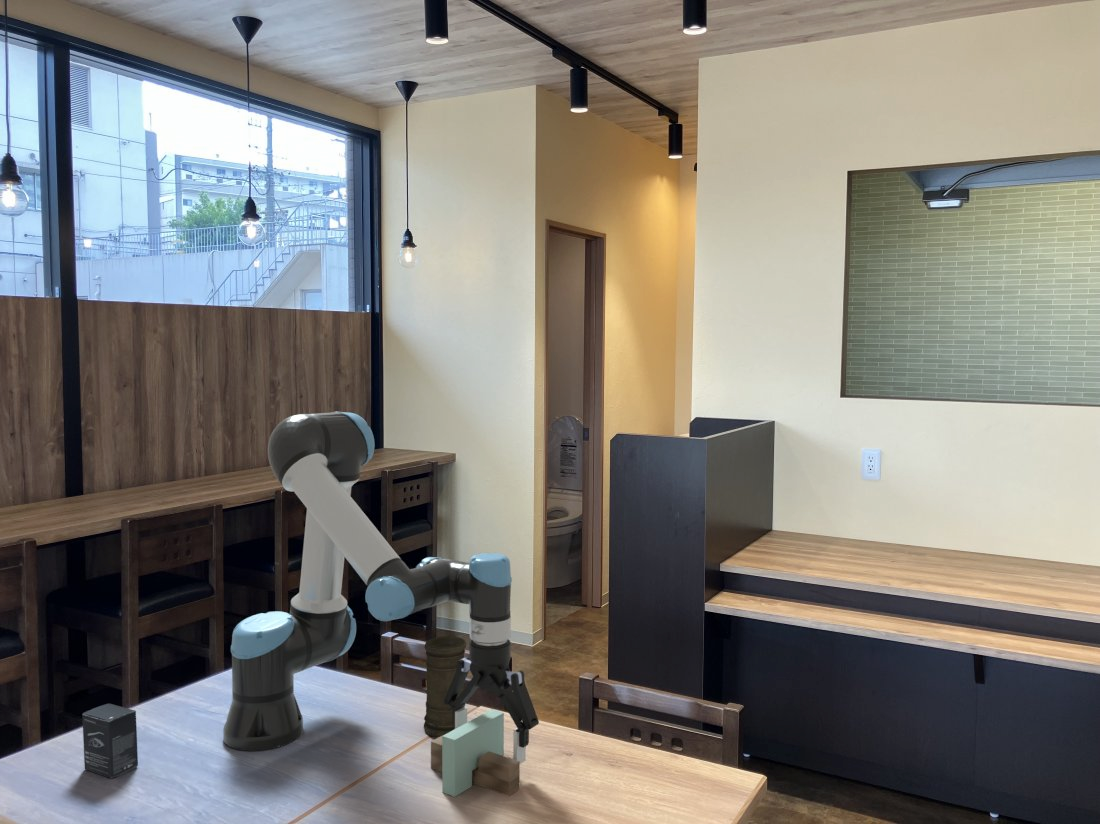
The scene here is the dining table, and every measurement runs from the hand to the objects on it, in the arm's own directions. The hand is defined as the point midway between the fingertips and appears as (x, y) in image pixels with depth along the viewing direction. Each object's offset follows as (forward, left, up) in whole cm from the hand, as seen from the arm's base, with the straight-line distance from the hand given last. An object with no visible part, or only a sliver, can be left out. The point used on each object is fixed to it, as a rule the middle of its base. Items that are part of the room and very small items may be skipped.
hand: (489, 753), depth 155 cm
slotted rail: (0, -4, -3) cm, 5 cm away
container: (-18, +8, -3) cm, 20 cm away
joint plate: (0, -4, -3) cm, 5 cm away
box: (-57, -40, -3) cm, 69 cm away
